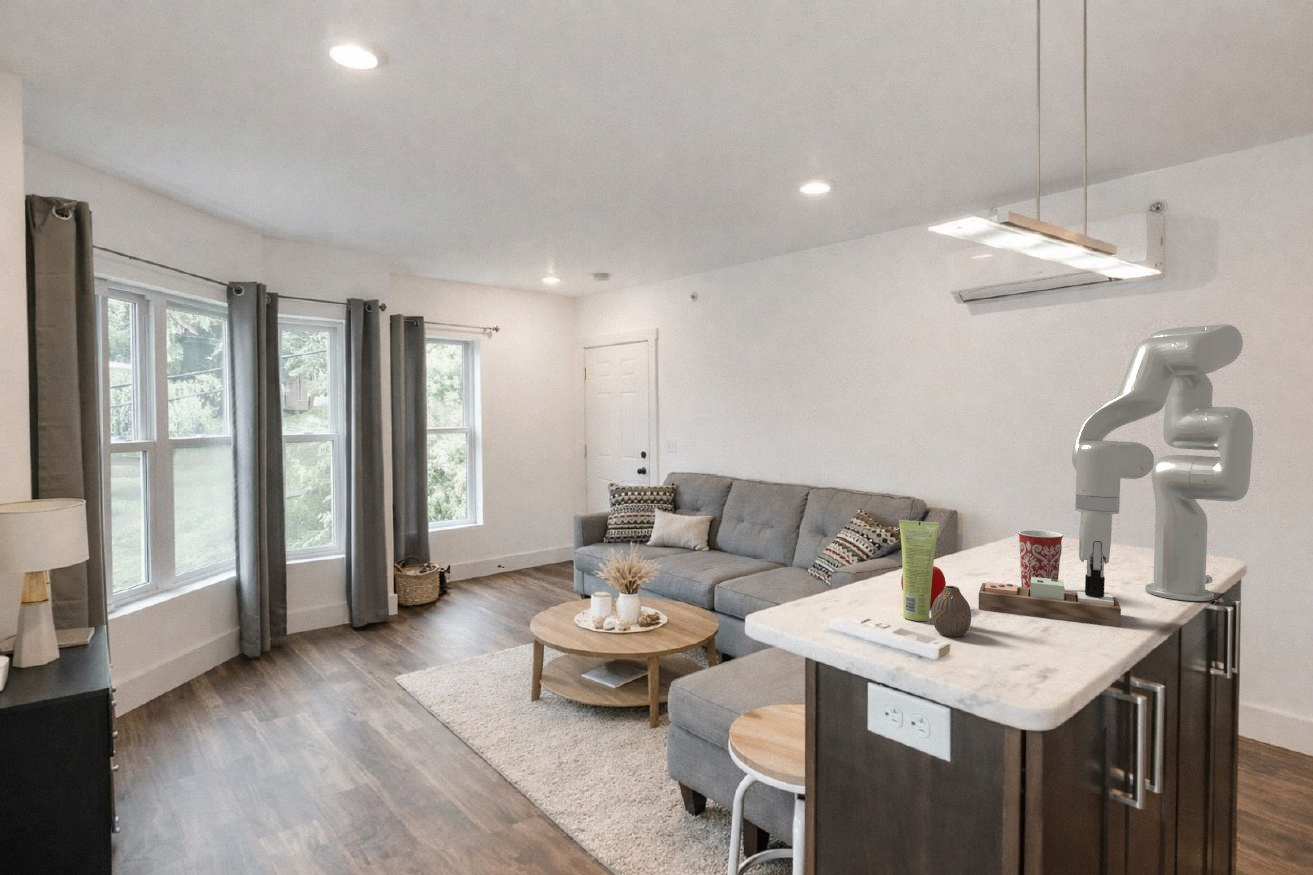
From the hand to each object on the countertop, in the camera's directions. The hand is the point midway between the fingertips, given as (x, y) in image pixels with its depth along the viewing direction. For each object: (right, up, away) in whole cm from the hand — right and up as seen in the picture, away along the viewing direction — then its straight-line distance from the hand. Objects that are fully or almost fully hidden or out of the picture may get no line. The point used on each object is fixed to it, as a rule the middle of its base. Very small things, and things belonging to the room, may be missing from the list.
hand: (1094, 595), depth 144 cm
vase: (-33, -5, -11) cm, 35 cm away
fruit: (-30, -4, +11) cm, 33 cm away
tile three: (-15, -3, +8) cm, 17 cm away
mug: (+2, -4, +22) cm, 23 cm away
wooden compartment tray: (-7, -4, +4) cm, 9 cm away
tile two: (-7, -1, +4) cm, 8 cm away
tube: (-36, -5, -1) cm, 36 cm away
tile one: (0, -3, 0) cm, 3 cm away
